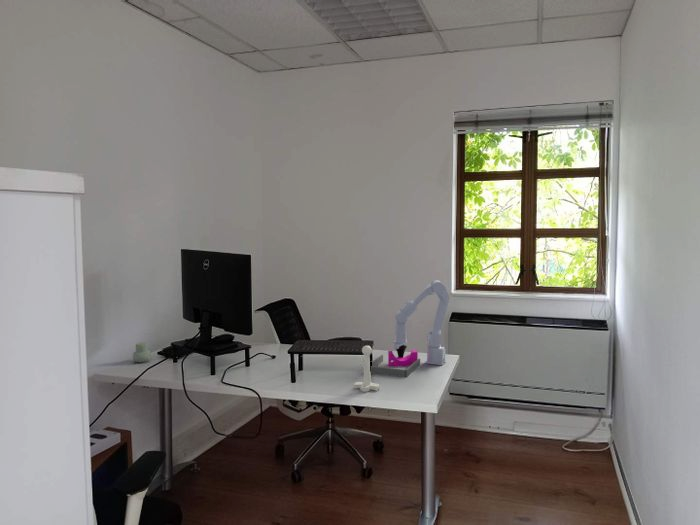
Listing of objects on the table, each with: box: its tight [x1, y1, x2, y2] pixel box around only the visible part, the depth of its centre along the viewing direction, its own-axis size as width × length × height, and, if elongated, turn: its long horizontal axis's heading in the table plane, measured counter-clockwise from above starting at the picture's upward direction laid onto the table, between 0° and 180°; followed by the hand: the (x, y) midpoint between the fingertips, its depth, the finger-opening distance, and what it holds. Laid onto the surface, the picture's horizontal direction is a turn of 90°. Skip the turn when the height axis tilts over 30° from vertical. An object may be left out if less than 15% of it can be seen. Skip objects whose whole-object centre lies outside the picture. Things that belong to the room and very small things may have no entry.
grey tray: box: [371, 354, 421, 378], centre depth 274 cm, size 22×23×4 cm
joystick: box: [353, 345, 380, 393], centre depth 241 cm, size 11×8×20 cm
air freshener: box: [132, 342, 152, 363], centre depth 294 cm, size 11×8×10 cm
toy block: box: [387, 349, 419, 368], centre depth 282 cm, size 15×6×8 cm, turn 91°
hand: (400, 359), depth 286 cm, fingers closed
